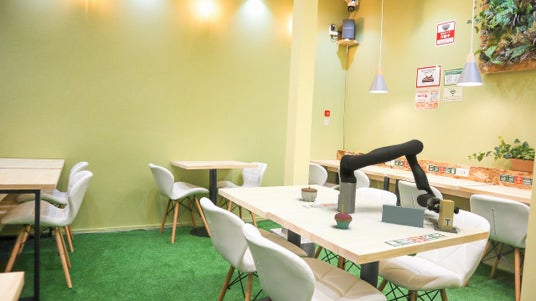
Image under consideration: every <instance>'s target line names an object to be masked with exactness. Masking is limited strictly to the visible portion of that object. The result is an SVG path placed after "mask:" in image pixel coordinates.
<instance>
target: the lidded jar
mask: <svg viewBox="0 0 536 301" xmlns="http://www.w3.org/2000/svg"><path fill="white" fill-rule="evenodd" d="M300 190H301V191H300V195H301V198H302V199H303V201H304V202H309V203H312V202H314V201H315V200H316V198H317V197H318V196H317V195H318V189H316V188H312V187H311V186H308V187H303V188H301V189H300Z"/></svg>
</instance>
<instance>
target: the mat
mask: <svg viewBox="0 0 536 301" xmlns="http://www.w3.org/2000/svg"><path fill="white" fill-rule="evenodd" d="M433 229H434V231H437V232H444V233H445V232H446V233H451V234H452V233H453V234H458V230H457V228H456V227H453V228H452V230H443V229H440V228H439V227H438V224H437V225H436V224H433Z"/></svg>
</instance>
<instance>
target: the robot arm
mask: <svg viewBox="0 0 536 301" xmlns="http://www.w3.org/2000/svg"><path fill="white" fill-rule="evenodd" d="M423 150H424V143H423V141H421V140H420V139H414V138H413V139H411V140H408V141H406V142H402V143H398V144H392V145H386V146H382V147H378V148H374V149H372V150H371V151H369V152H366V153H362V154H355V155H354V154H344V155H342V156H341V158H340V160H339V178H340V180H339V181H340V183H339V194H337V209H336V210H337V211H338V212H339V213H341V212H342V203H343V212H345V213H348V214H355V211H356V197H357V196H356V195H357V182H358V180H357V177H356V175H355V171H358V170H361V169H364V168H366V167H368V166H376V165H381V164H385V163H388V162H389V163H390V162H391V161H392V162H393V161H394V160H397V159H399V158H401V157H405V159H406V161H407V165H408V166H409V168H410V171H411V173H412V176H413V179H414V183H415V186H416V189H417V190H418V191H425V192H426V193H422V194H418V195H417V197H416V203H417V204H418V206H420V208H424V209H425V208H426V210H428V211H430V212H434V213H435V214H438V215H439V212H440V199H441V198H439V197H437V195H436V194H435V193H434V191H433V190H432V188H431V186H430V182H429V180H428V177H427V174H426V172H425V170H424V169H423V168H422V167H421V165H420V164H419V162H418V156H417V155H419V154H421V153H422V152H423ZM459 213H460V207H457V206H455V205H454V214H455V215H458V214H459Z"/></svg>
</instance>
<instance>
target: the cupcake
mask: <svg viewBox="0 0 536 301" xmlns="http://www.w3.org/2000/svg"><path fill="white" fill-rule="evenodd" d="M333 219H334V220H335V222H336V226H337V228H339V229H343V230H345V229H346V230H347V229H349V225H350V224H351V223H352V221H353V217H352V215H350V213H345V212H343V203H342V212H336V213H335V215H334V218H333Z"/></svg>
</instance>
